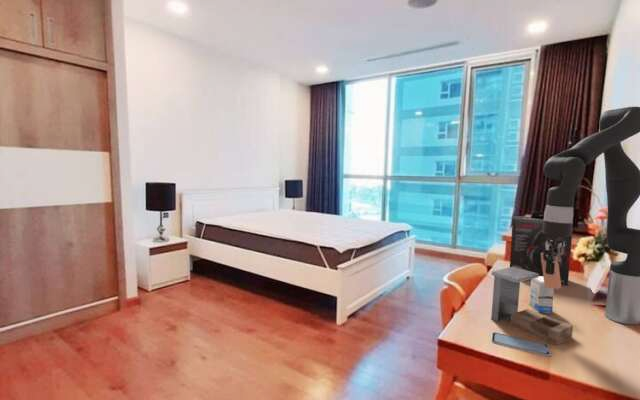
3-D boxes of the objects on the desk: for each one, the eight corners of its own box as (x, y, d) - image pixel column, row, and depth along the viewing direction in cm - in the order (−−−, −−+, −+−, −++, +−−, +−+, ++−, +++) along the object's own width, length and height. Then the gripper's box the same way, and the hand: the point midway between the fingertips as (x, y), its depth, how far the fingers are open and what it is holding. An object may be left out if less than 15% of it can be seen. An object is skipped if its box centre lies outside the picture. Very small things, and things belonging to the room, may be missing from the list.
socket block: (526, 319, 118) (527, 308, 118) (571, 337, 106) (572, 325, 106) (510, 325, 113) (511, 314, 113) (555, 345, 101) (556, 332, 101)
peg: (561, 286, 107) (557, 252, 107) (557, 288, 104) (553, 253, 105) (548, 285, 109) (544, 252, 110) (544, 287, 107) (540, 253, 108)
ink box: (552, 313, 123) (555, 283, 122) (537, 312, 124) (540, 282, 123) (542, 304, 132) (544, 275, 131) (528, 303, 133) (530, 274, 132)
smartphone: (492, 331, 108) (547, 344, 101) (492, 334, 108) (547, 346, 101) (491, 341, 102) (550, 355, 94) (491, 344, 102) (550, 358, 94)
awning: (509, 311, 125) (513, 266, 123) (534, 321, 117) (538, 273, 115) (488, 318, 118) (491, 271, 117) (513, 329, 111) (517, 279, 109)
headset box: (507, 275, 168) (512, 210, 165) (510, 269, 178) (515, 208, 175) (568, 286, 153) (575, 215, 150) (567, 279, 163) (574, 213, 160)
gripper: (564, 223, 98) (557, 280, 100) (579, 220, 107) (573, 272, 108) (535, 219, 104) (529, 273, 106) (552, 217, 113) (546, 266, 114)
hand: (551, 272), depth 107 cm, fingers closed on peg, 3 cm apart
